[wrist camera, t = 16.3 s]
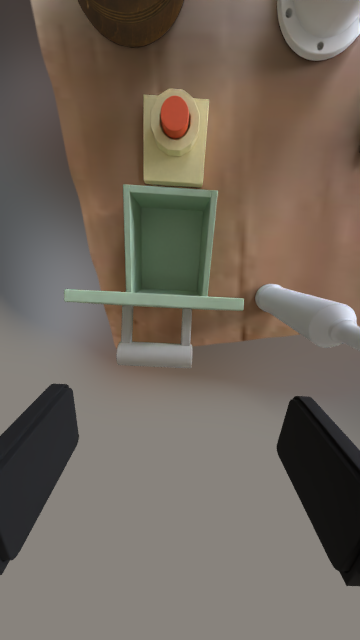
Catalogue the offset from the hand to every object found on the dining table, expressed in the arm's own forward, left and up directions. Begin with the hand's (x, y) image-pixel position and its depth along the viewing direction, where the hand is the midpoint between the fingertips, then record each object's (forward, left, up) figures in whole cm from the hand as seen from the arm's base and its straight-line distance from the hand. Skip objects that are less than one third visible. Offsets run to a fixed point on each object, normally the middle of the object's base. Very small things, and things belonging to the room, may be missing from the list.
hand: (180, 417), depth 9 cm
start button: (-24, -2, -27) cm, 36 cm away
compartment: (-7, -2, -30) cm, 31 cm away
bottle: (0, +17, -30) cm, 34 cm away
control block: (-22, -2, -30) cm, 37 cm away
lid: (-2, -2, -13) cm, 14 cm away
